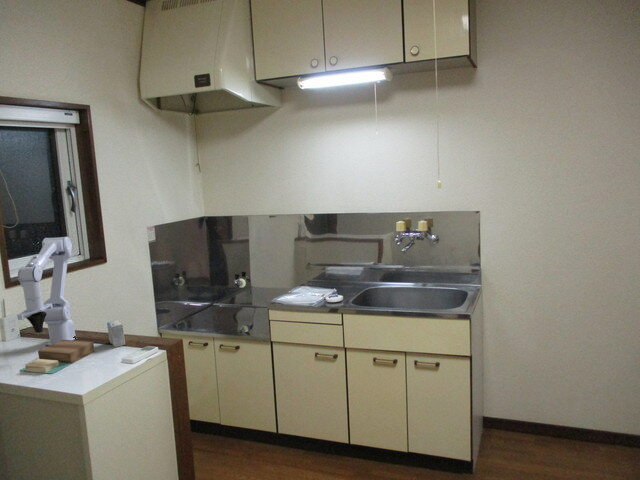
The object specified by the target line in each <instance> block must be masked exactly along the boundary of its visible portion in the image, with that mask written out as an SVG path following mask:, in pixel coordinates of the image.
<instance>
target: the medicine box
mask: <svg viewBox="0 0 640 480" xmlns="http://www.w3.org/2000/svg"><path fill="white" fill-rule="evenodd" d="M106 323H107V324H106V325H107V331H108V340H109V343H110V344H111V345H112V346H113V347H114V348H118V347H121V346H125V345H126V341H125V339H126V338H125V332H124V331H125V330H124V326H123V323H122V322H120V320H118V319H116V320H112V321H108V322H106Z"/></svg>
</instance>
